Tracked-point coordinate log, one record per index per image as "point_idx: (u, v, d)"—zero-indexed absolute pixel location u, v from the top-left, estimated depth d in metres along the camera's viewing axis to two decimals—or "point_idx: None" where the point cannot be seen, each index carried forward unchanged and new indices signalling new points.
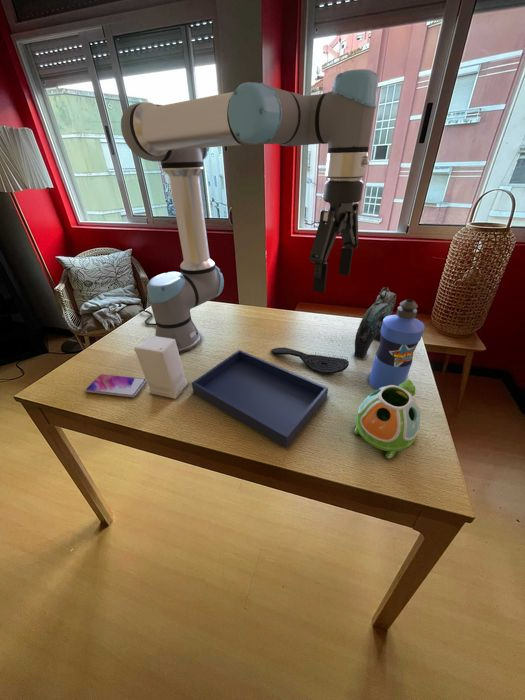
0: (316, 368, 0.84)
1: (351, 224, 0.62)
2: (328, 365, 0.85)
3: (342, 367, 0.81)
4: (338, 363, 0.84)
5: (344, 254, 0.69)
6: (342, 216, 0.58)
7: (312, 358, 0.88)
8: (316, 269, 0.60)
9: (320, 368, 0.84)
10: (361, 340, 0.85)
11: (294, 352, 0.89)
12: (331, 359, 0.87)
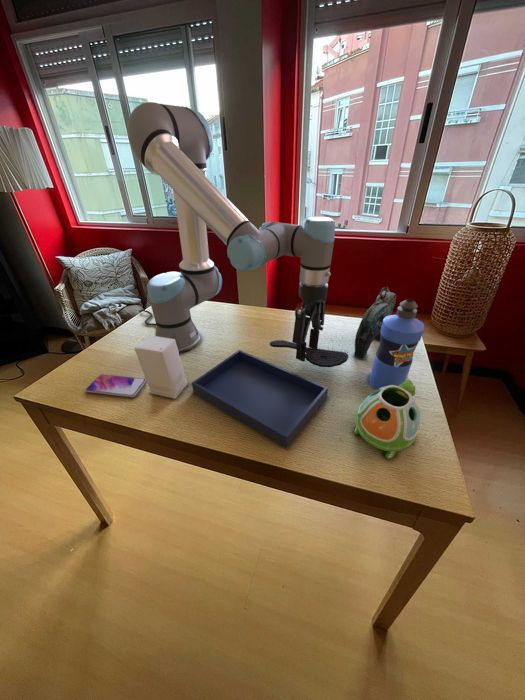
0: (315, 361, 0.83)
1: (319, 311, 0.80)
2: (327, 358, 0.83)
3: (341, 360, 0.80)
4: (337, 356, 0.83)
5: (312, 334, 0.87)
6: (312, 308, 0.76)
7: (311, 351, 0.86)
8: (297, 346, 0.81)
9: (319, 361, 0.82)
10: (361, 340, 0.85)
11: (293, 345, 0.87)
12: None
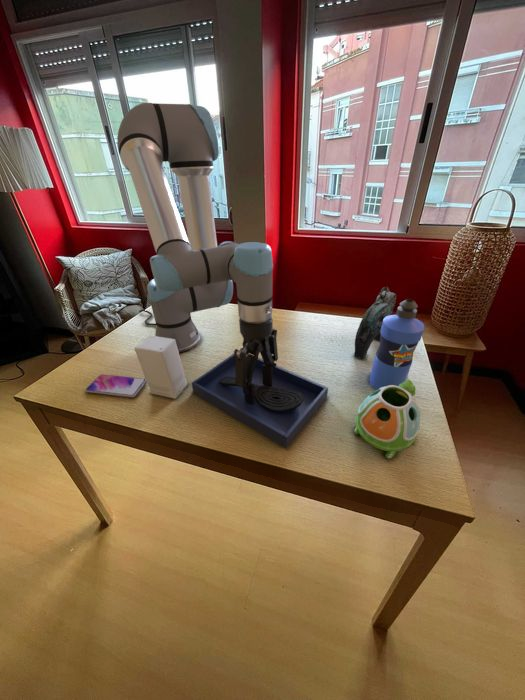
0: (265, 404, 0.71)
1: (267, 348, 0.68)
2: (280, 400, 0.72)
3: (294, 404, 0.69)
4: (291, 398, 0.71)
5: (265, 371, 0.76)
6: (256, 346, 0.65)
7: (263, 391, 0.75)
8: (243, 388, 0.69)
9: (270, 404, 0.71)
10: (361, 340, 0.85)
11: None
12: (285, 392, 0.74)
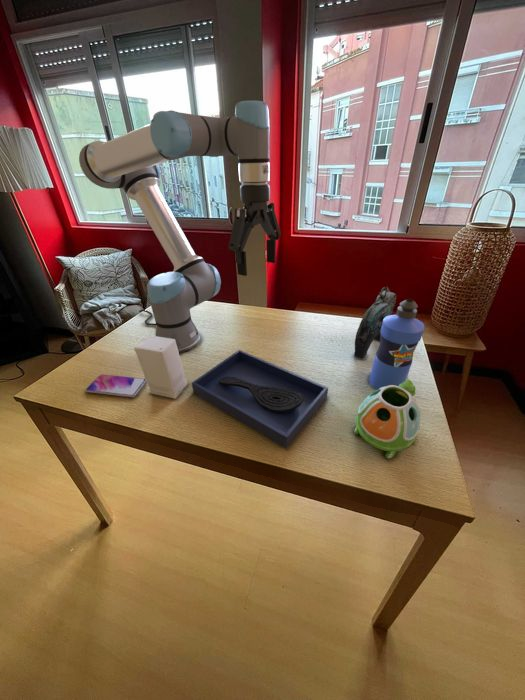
0: (265, 404, 0.71)
1: (267, 220, 0.76)
2: (280, 400, 0.72)
3: (294, 404, 0.69)
4: (291, 398, 0.71)
5: (269, 245, 0.84)
6: (255, 213, 0.72)
7: (263, 391, 0.75)
8: (236, 256, 0.74)
9: (270, 404, 0.71)
10: (361, 340, 0.85)
11: (243, 383, 0.76)
12: (285, 392, 0.74)
